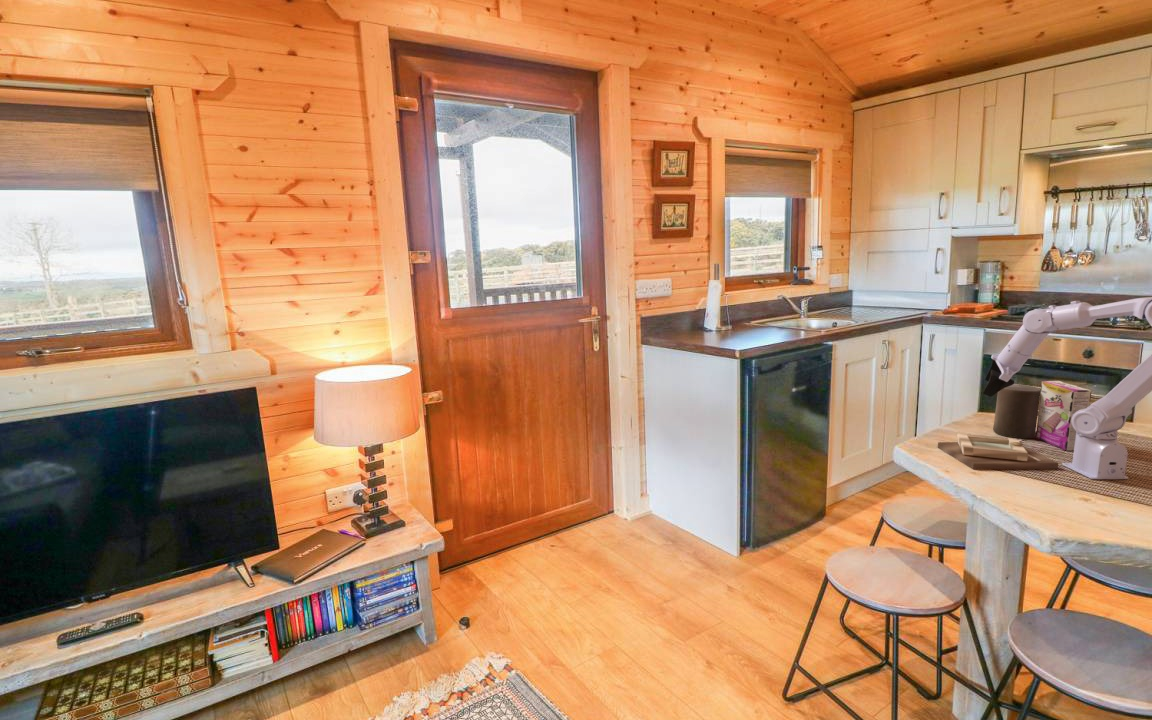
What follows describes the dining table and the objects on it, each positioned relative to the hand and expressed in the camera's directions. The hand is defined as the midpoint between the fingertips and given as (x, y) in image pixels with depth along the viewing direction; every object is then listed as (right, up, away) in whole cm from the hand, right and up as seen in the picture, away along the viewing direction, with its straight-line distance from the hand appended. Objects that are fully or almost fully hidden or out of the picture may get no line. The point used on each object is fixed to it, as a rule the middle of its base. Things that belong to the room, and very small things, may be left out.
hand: (987, 387), depth 159 cm
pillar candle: (+13, -14, +8) cm, 20 cm away
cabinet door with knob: (-6, -15, -10) cm, 19 cm away
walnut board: (-6, -17, -10) cm, 21 cm away
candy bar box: (+18, -15, -2) cm, 23 cm away
